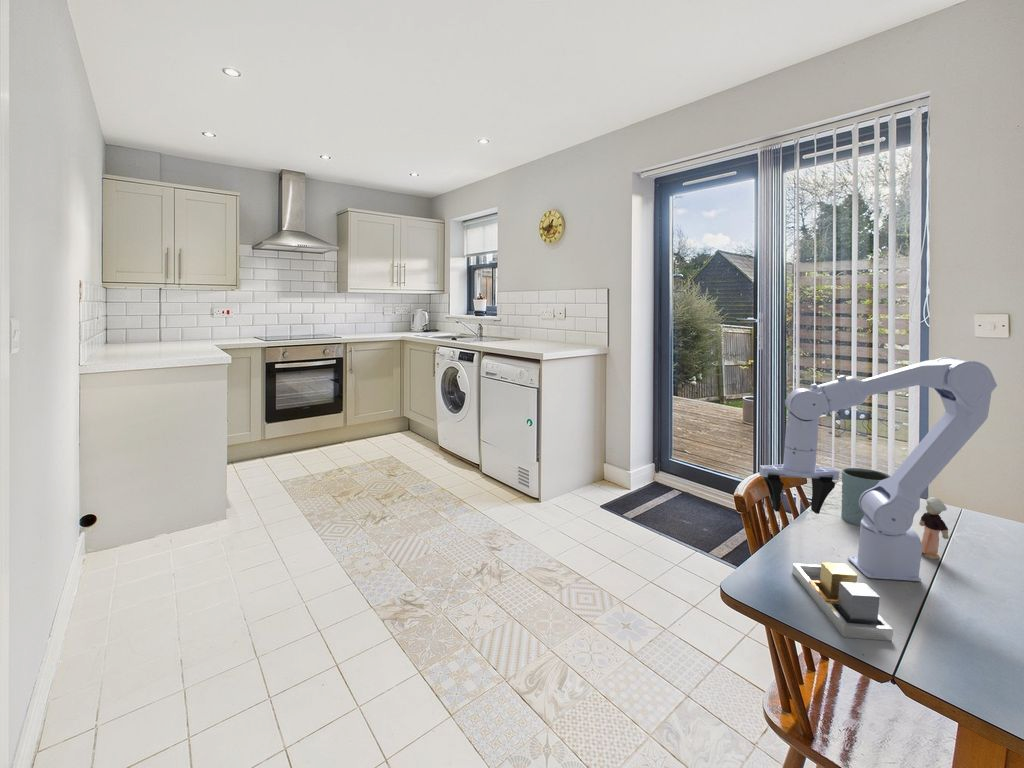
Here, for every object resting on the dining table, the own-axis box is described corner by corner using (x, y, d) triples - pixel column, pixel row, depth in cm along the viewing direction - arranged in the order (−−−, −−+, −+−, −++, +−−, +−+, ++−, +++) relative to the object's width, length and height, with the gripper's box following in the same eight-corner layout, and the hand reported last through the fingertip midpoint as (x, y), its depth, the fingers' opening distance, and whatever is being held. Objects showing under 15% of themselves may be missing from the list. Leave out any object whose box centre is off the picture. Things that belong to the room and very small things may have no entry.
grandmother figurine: (905, 547, 109) (911, 492, 107) (921, 546, 109) (927, 491, 107) (937, 564, 101) (944, 505, 99) (955, 564, 101) (962, 504, 100)
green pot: (832, 519, 123) (836, 473, 122) (844, 508, 130) (848, 464, 129) (882, 532, 116) (887, 483, 114) (891, 520, 123) (896, 473, 121)
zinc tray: (830, 575, 97) (831, 564, 97) (891, 641, 78) (893, 628, 77) (792, 572, 98) (793, 562, 98) (843, 637, 79) (844, 624, 78)
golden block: (842, 597, 90) (845, 563, 89) (854, 610, 86) (857, 575, 85) (818, 595, 90) (821, 562, 90) (829, 608, 86) (832, 573, 86)
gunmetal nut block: (862, 619, 83) (865, 583, 82) (875, 634, 79) (879, 596, 78) (836, 617, 84) (839, 581, 83) (848, 632, 80) (852, 594, 79)
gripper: (769, 451, 98) (765, 516, 100) (849, 454, 96) (843, 520, 98) (757, 442, 105) (753, 503, 107) (831, 444, 103) (826, 507, 105)
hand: (795, 510), depth 103 cm, fingers open, 7 cm apart
